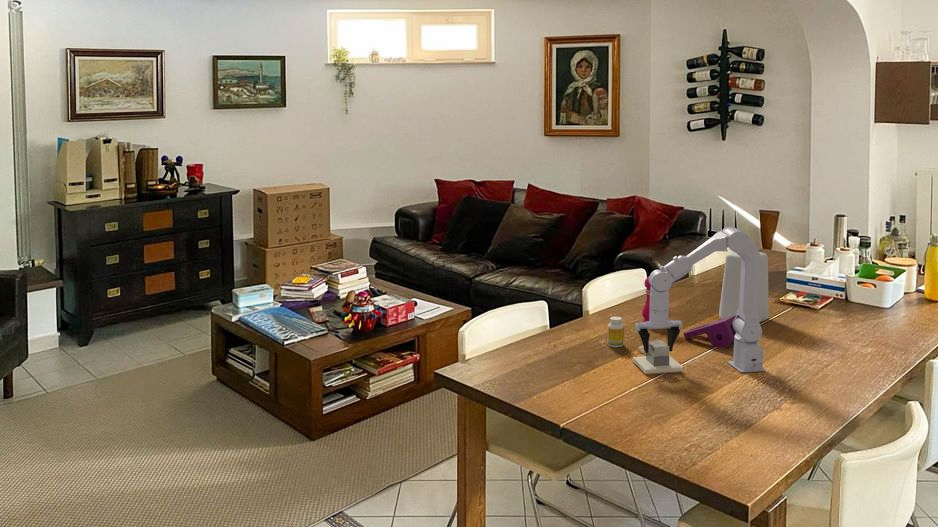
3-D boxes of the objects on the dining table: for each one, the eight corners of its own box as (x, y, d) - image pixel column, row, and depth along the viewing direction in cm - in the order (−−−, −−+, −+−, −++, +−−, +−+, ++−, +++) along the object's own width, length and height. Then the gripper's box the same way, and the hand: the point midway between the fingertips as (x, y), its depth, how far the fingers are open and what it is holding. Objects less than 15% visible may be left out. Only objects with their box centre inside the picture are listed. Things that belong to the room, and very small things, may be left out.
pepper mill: (637, 323, 300) (638, 271, 296) (653, 321, 303) (655, 269, 299) (649, 329, 294) (651, 275, 290) (665, 326, 297) (667, 272, 292)
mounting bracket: (687, 358, 280) (734, 345, 268) (678, 335, 281) (724, 321, 269) (699, 350, 287) (745, 338, 275) (690, 328, 288) (736, 314, 276)
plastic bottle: (736, 311, 314) (740, 240, 308) (772, 319, 303) (777, 245, 297) (714, 318, 305) (717, 245, 299) (750, 327, 293) (754, 251, 287)
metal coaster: (669, 354, 266) (669, 352, 266) (643, 355, 265) (643, 354, 265) (660, 345, 275) (660, 344, 275) (634, 347, 274) (634, 345, 274)
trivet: (683, 372, 249) (683, 367, 249) (645, 375, 248) (645, 369, 247) (668, 360, 261) (668, 354, 260) (632, 362, 259) (632, 357, 259)
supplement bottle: (605, 343, 279) (606, 316, 277) (621, 342, 280) (621, 315, 277) (609, 347, 274) (609, 320, 272) (625, 347, 274) (625, 320, 272)
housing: (669, 365, 251) (669, 346, 250) (653, 366, 250) (654, 347, 249) (661, 357, 258) (661, 339, 256) (645, 358, 257) (646, 340, 256)
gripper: (676, 304, 255) (675, 345, 258) (632, 306, 253) (631, 348, 256) (685, 310, 248) (684, 352, 251) (639, 313, 246) (638, 355, 249)
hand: (658, 351), depth 253 cm, fingers open, 7 cm apart
